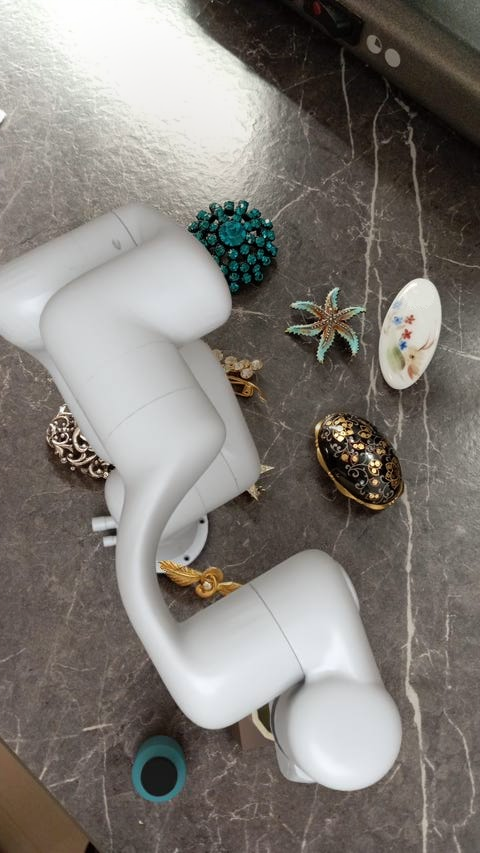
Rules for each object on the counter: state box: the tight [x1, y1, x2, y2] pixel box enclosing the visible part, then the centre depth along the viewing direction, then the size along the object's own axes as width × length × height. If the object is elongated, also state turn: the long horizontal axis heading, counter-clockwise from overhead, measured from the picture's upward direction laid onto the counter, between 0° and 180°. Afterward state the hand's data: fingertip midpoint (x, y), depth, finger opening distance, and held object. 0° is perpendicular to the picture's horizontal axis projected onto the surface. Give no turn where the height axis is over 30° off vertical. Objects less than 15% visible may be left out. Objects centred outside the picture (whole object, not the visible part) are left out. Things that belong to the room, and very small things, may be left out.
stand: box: [229, 717, 275, 751], centre depth 110 cm, size 9×9×21 cm
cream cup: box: [246, 703, 274, 741], centre depth 95 cm, size 7×7×10 cm
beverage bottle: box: [131, 734, 188, 803], centre depth 108 cm, size 6×7×20 cm
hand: (292, 708), depth 86 cm, fingers closed
